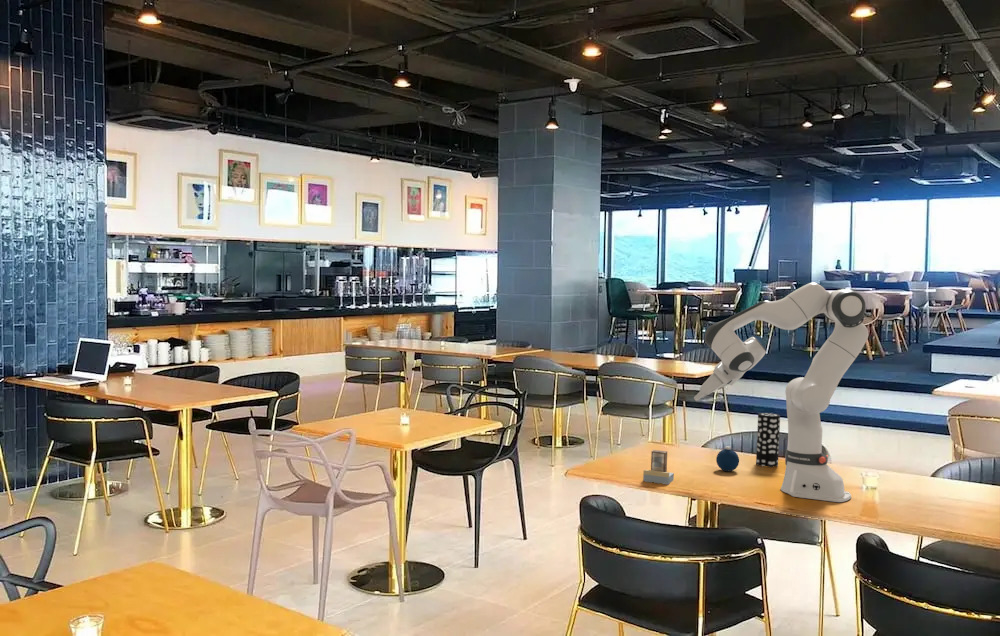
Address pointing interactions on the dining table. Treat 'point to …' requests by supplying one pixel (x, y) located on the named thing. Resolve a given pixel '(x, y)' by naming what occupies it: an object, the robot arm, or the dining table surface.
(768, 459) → the spotted tube
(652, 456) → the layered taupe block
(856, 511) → the dining table surface
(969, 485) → the dining table surface
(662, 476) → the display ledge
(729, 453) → the christmas ornament
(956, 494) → the dining table surface
